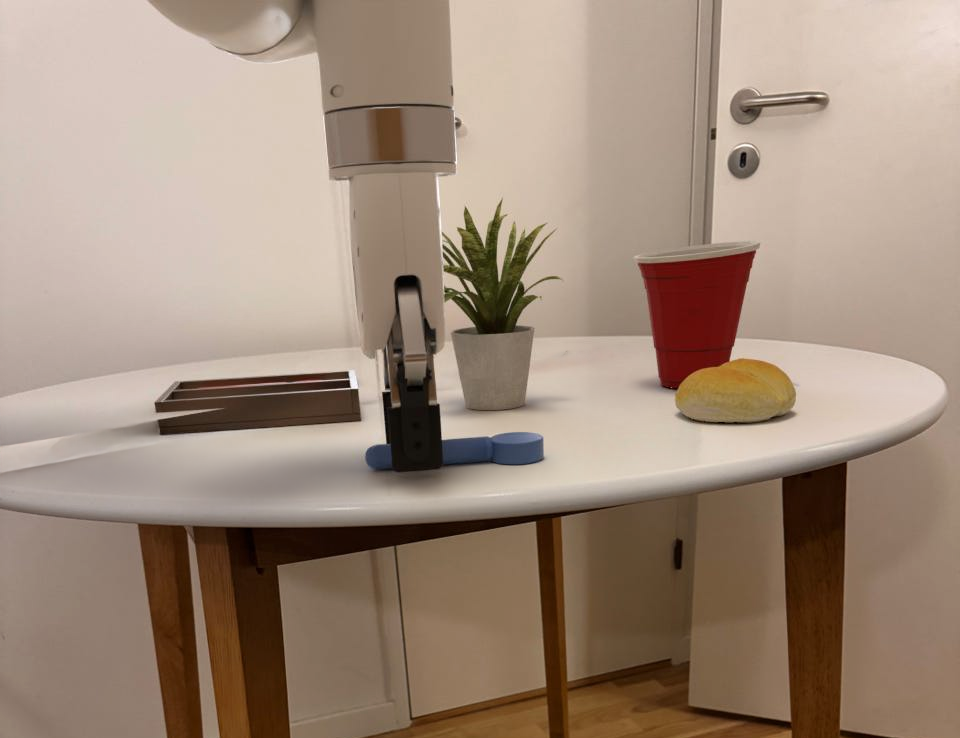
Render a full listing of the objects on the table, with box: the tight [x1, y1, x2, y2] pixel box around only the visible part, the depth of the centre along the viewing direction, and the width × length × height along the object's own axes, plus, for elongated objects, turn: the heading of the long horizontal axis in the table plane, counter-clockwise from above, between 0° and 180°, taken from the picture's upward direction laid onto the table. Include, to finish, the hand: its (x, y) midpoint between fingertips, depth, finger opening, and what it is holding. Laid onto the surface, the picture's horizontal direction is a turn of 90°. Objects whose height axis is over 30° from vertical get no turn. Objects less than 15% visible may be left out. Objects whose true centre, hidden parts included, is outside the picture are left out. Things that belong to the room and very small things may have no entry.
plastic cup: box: [632, 240, 761, 389], centre depth 84 cm, size 11×11×12 cm
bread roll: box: [674, 357, 797, 424], centre depth 72 cm, size 8×9×4 cm
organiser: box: [153, 369, 362, 436], centre depth 81 cm, size 16×11×3 cm
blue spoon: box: [364, 431, 545, 470], centre depth 62 cm, size 12×4×2 cm, turn 99°
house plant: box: [441, 196, 563, 411], centre depth 79 cm, size 14×14×16 cm
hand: (413, 456), depth 62 cm, fingers open, 5 cm apart
